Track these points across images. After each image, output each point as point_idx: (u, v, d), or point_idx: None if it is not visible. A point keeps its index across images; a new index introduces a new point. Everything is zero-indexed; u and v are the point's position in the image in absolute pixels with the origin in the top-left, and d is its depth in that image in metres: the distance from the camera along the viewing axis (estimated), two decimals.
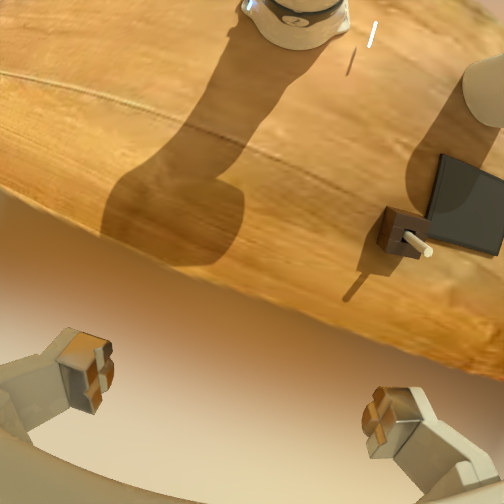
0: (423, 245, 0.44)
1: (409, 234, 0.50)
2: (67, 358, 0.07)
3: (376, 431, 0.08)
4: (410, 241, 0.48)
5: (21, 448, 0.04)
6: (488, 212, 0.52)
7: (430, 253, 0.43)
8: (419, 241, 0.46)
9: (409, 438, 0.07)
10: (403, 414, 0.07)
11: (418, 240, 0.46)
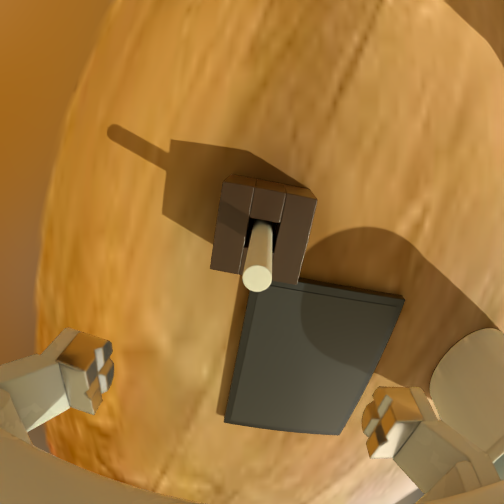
0: (269, 263, 0.18)
1: (270, 234, 0.24)
2: (67, 358, 0.07)
3: (376, 431, 0.08)
4: (259, 235, 0.22)
5: (21, 448, 0.04)
6: (299, 397, 0.36)
7: (253, 285, 0.18)
8: (270, 254, 0.20)
9: (409, 438, 0.07)
10: (403, 414, 0.07)
11: (271, 252, 0.21)
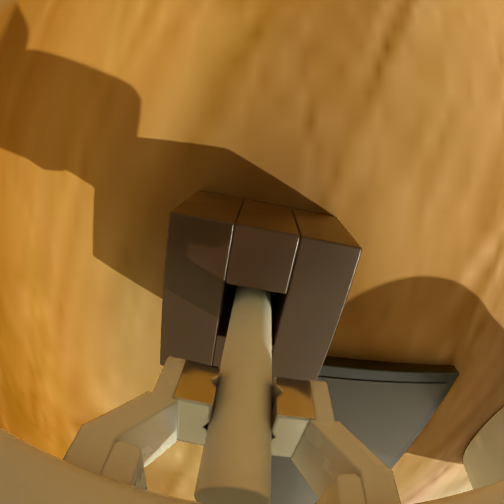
0: (265, 456, 0.06)
1: (268, 321, 0.12)
2: (186, 393, 0.07)
3: None
4: (245, 336, 0.10)
5: (21, 448, 0.04)
6: (304, 485, 0.23)
7: None
8: (269, 400, 0.08)
9: (302, 436, 0.07)
10: (289, 408, 0.07)
11: (269, 389, 0.08)
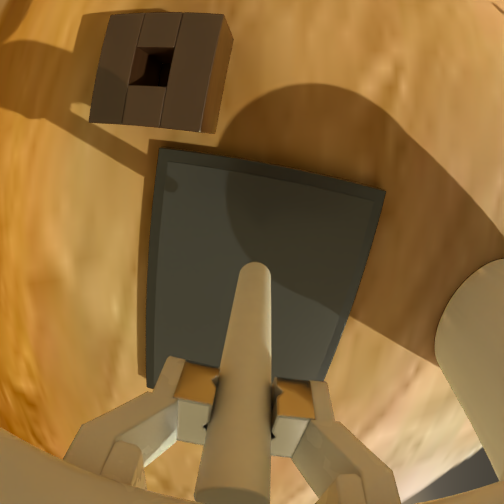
0: (265, 457, 0.06)
1: (268, 322, 0.12)
2: (186, 392, 0.07)
3: None
4: (244, 337, 0.10)
5: (21, 448, 0.04)
6: None
7: None
8: (268, 401, 0.08)
9: (302, 436, 0.07)
10: (289, 408, 0.07)
11: (269, 390, 0.08)
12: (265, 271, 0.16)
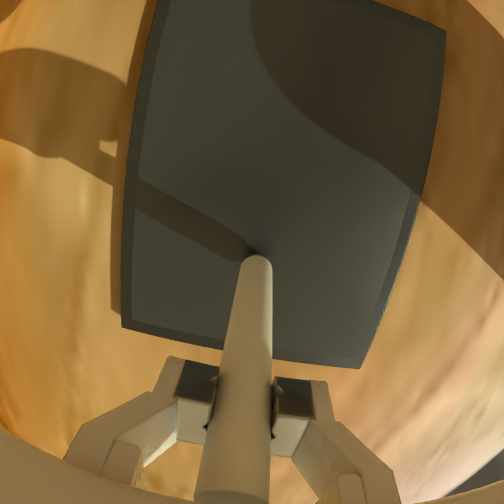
0: (264, 459, 0.06)
1: (269, 318, 0.12)
2: (186, 392, 0.07)
3: None
4: (245, 334, 0.10)
5: (21, 448, 0.04)
6: (267, 251, 0.17)
7: None
8: (269, 401, 0.08)
9: (302, 437, 0.07)
10: (290, 408, 0.07)
11: (269, 389, 0.08)
12: (266, 265, 0.15)
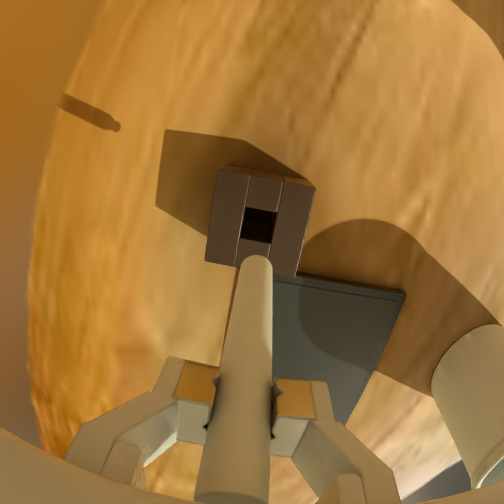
0: (264, 460, 0.06)
1: (269, 319, 0.12)
2: (186, 392, 0.07)
3: None
4: (245, 335, 0.10)
5: (21, 448, 0.04)
6: None
7: None
8: (268, 402, 0.08)
9: (302, 437, 0.07)
10: (289, 409, 0.07)
11: (269, 390, 0.08)
12: (267, 264, 0.15)
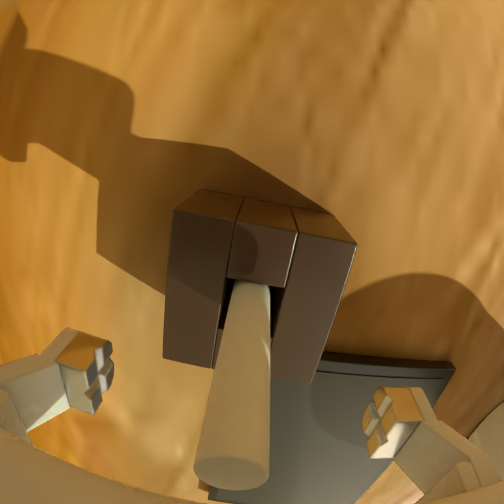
0: (264, 428, 0.06)
1: (267, 305, 0.12)
2: (67, 358, 0.07)
3: (376, 431, 0.08)
4: (244, 317, 0.10)
5: (21, 448, 0.04)
6: (303, 481, 0.24)
7: (224, 483, 0.06)
8: (267, 377, 0.08)
9: (409, 438, 0.07)
10: (403, 414, 0.07)
11: (268, 367, 0.09)
12: None
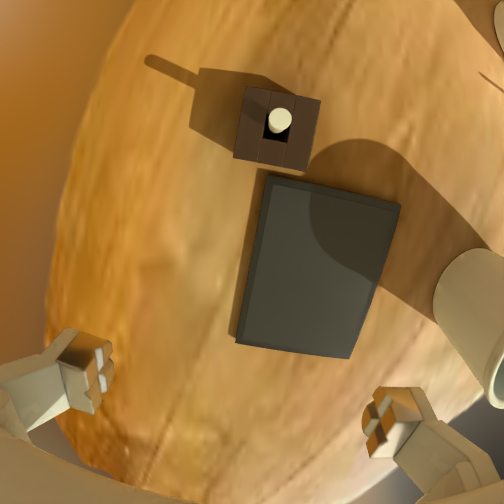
0: None
1: None
2: (67, 358, 0.07)
3: (376, 431, 0.08)
4: None
5: (21, 448, 0.04)
6: (309, 309, 0.39)
7: (277, 123, 0.21)
8: None
9: (409, 438, 0.07)
10: (403, 414, 0.07)
11: None
12: None
